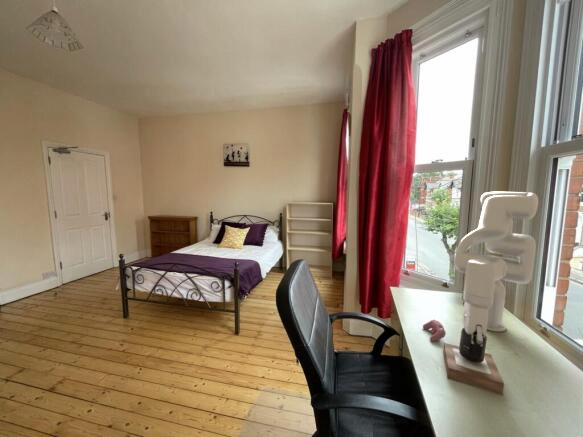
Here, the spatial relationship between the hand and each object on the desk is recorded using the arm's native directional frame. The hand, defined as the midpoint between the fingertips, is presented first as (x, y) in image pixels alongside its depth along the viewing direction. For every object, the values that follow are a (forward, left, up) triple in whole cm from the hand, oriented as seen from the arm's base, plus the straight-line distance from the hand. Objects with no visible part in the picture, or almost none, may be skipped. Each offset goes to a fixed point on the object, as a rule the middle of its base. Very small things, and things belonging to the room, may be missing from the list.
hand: (472, 347), depth 81 cm
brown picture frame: (0, 0, -9) cm, 9 cm away
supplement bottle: (0, 0, -4) cm, 4 cm away
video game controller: (-17, -10, -9) cm, 22 cm away
